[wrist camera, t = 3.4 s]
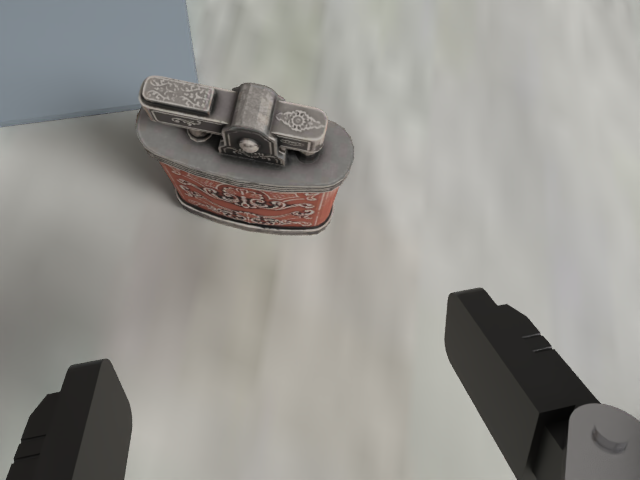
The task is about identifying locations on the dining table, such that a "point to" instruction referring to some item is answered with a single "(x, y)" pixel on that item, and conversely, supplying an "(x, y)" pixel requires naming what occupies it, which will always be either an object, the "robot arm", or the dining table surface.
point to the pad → (87, 55)
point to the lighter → (245, 154)
